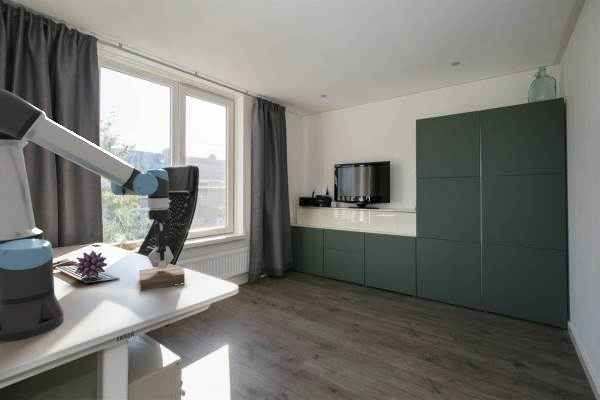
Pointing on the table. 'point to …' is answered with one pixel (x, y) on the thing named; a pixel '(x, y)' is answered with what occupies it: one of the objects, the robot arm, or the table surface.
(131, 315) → the table surface
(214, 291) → the table surface
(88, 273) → the purple spiky ball
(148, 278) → the plinth
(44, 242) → the robot arm
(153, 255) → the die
